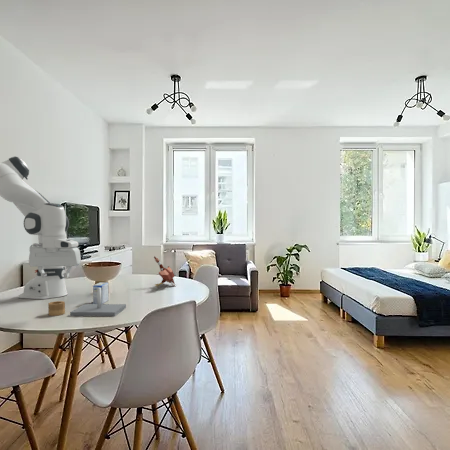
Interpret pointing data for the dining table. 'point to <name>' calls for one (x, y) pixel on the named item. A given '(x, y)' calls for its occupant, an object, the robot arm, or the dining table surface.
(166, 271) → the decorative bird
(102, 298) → the medicine box
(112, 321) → the dining table surface
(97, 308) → the stand
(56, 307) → the bead
